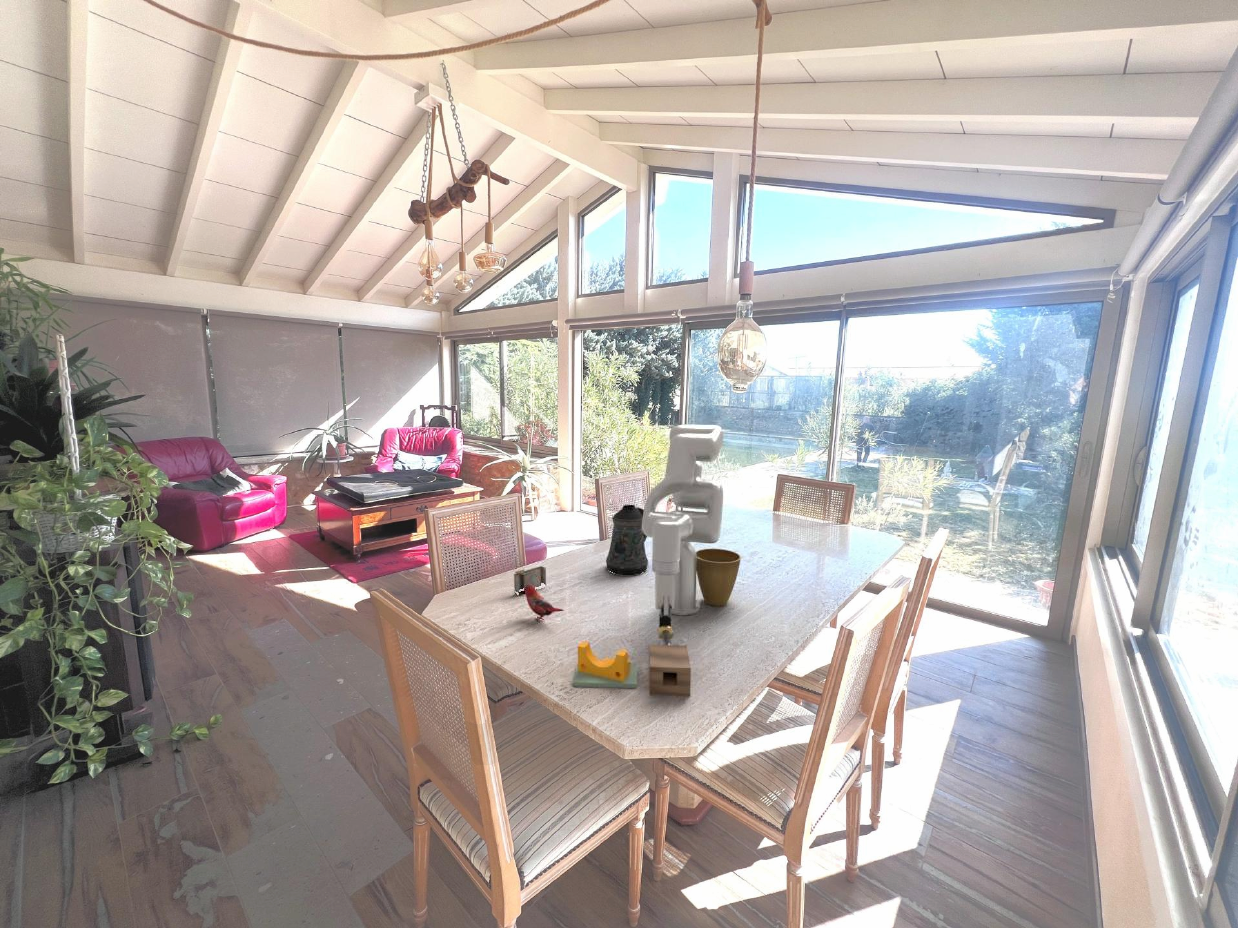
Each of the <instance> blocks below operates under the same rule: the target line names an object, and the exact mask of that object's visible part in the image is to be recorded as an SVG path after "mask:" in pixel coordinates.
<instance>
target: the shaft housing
mask: <svg viewBox="0 0 1238 928" xmlns="http://www.w3.org/2000/svg"><path fill="white" fill-rule="evenodd" d="M691 672H692V666H691V663H690V656H689V649H688V645H686V644H685V645H684V644H683V645H682V644H681V645H679V644H672V645H662V644H649V649H648V683H649V686H648V688H649V689H648V690H649V695H650V696H675V697H676V696H677V697H678V696H680V697H681V696H683V697H691V681H692V680H691V679H692V678H691V677H692V675H691V674H692V673H691Z"/></svg>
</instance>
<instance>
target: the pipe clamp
mask: <svg viewBox="0 0 1238 928" xmlns="http://www.w3.org/2000/svg"><path fill="white" fill-rule="evenodd" d="M590 644H591V643H590V642H588V641H581V642H580V643H579V644H578V645H577V663H578V671H580V672H584V673H589V674H593V675H597V676H601V677H605V678H610V679H614V680H618V681H622V682H624V681H625V679H626V678H627V676H628V675H629V673H630V663H631V659H629V651H628V650H627V649H622V648H620V649H619V650H618V651H617V652H616V654H615V657H613V658H610V657H605V658H604V659H603V660H601V659H600V658H598V657H597V656H596V655H595V654H594V653H593V651H592V649H591V645H590Z"/></svg>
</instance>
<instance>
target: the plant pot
mask: <svg viewBox="0 0 1238 928" xmlns="http://www.w3.org/2000/svg"><path fill="white" fill-rule="evenodd" d="M695 551H696V555H697V569H696V578H697V581H698V585H699V589H700V591H701V596H702V598H703V601H704V603H706V604H707V605H709V606H714V607H722V606H723V607H724V606H725V605H727V604H728V602H729V600H730V597H731V595H732V593H733V589H734V587H735V584H736V582H737V577H738V573H739V569H740V565H741V559H742V556H741V555H740V554H739V553H738V552H735V551H733V550H729V549H724V548H723V549H722V548H702V549H698V550H695Z"/></svg>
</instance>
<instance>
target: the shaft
mask: <svg viewBox="0 0 1238 928" xmlns="http://www.w3.org/2000/svg"><path fill="white" fill-rule="evenodd" d="M657 634H658V637H659V639H660V640H661V645H673V644H672V639H673V637H674V629H673V627H672V626H671V627H670V626H668V625H663V626H661V627H660V628H659V627H658V633H657Z"/></svg>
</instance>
